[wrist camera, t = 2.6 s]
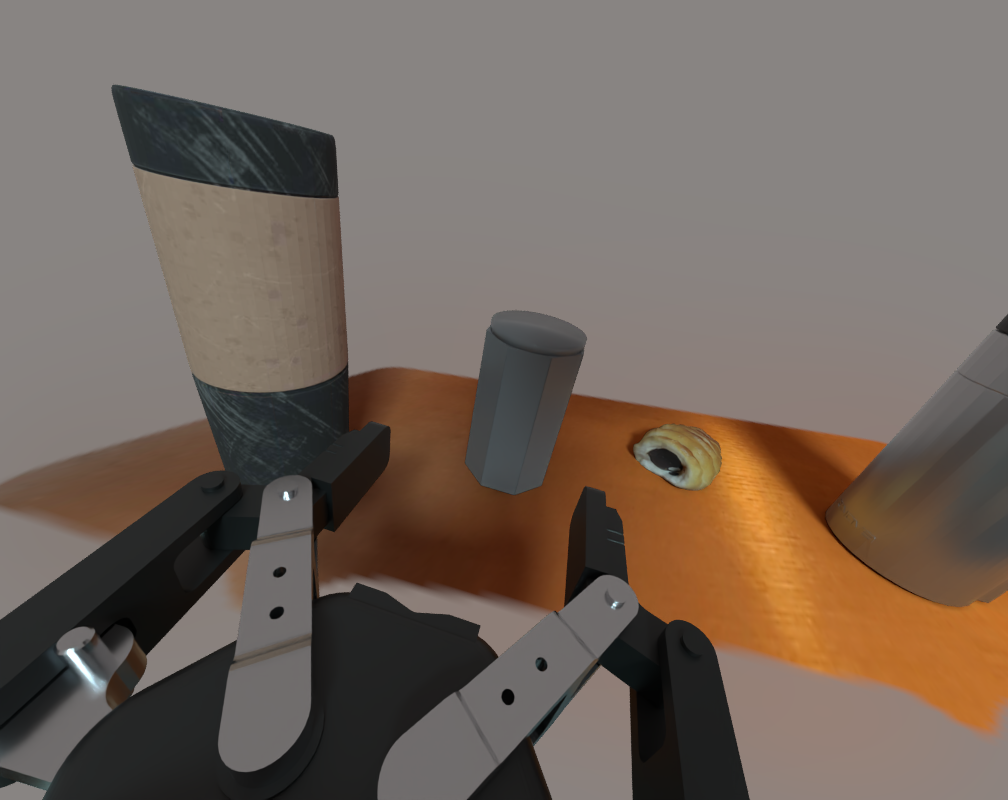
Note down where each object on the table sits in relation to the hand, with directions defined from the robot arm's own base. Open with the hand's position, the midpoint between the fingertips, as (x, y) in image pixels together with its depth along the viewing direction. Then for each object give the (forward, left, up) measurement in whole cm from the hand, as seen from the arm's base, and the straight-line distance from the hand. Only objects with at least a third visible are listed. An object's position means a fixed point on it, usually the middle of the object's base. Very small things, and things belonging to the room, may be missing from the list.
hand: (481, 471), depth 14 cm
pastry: (-16, -20, -10) cm, 27 cm away
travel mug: (+14, -5, -10) cm, 18 cm away
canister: (0, -12, -10) cm, 16 cm away
